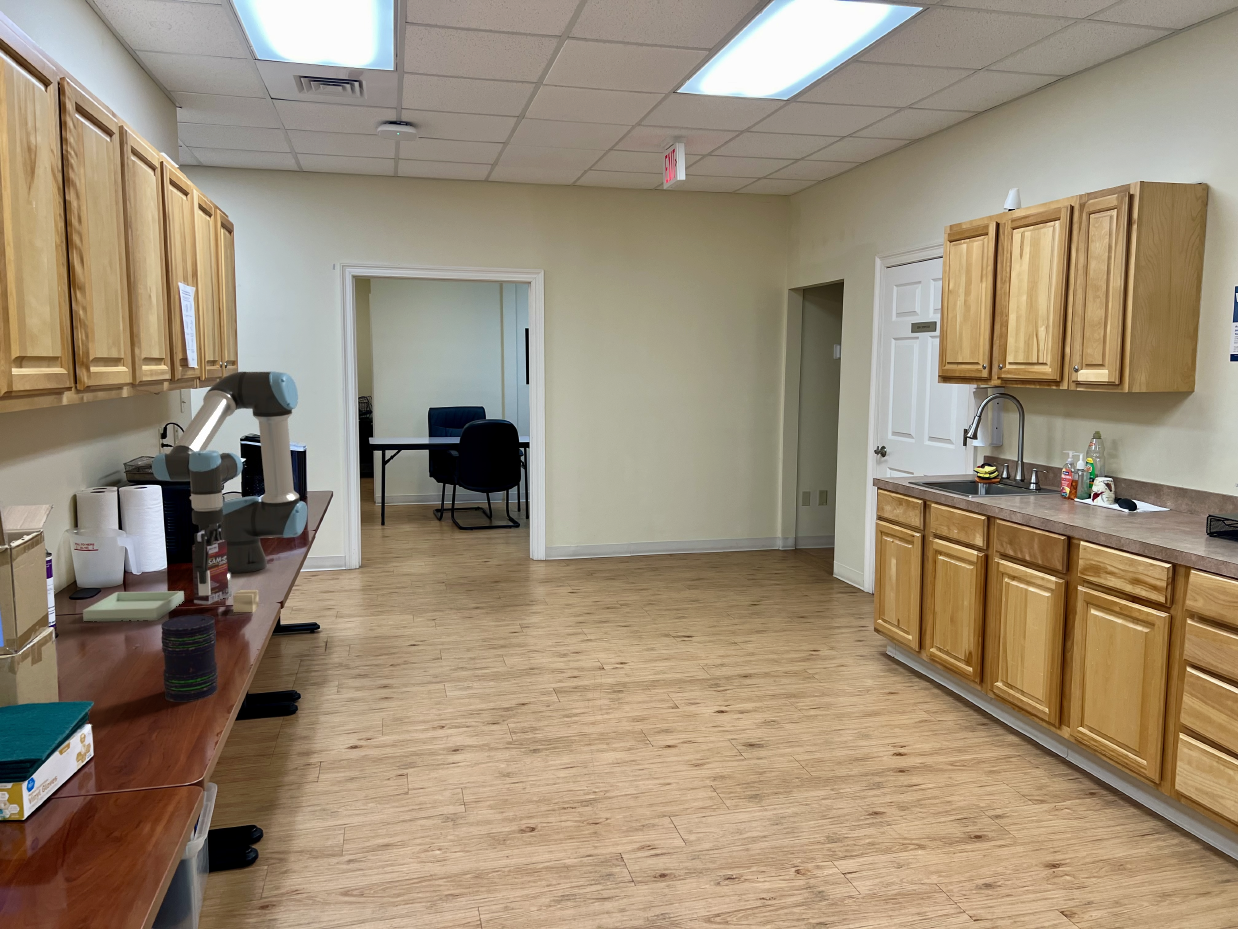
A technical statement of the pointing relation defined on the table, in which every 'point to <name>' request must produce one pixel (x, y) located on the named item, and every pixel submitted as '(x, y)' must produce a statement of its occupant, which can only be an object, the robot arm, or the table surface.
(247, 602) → the maple block
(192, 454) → the robot arm
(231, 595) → the metal cylinder
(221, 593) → the supplement box
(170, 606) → the sage tray
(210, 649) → the storage jar
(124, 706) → the table surface
